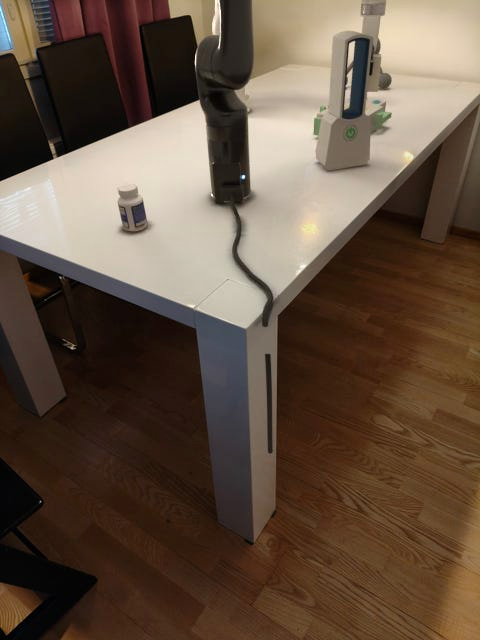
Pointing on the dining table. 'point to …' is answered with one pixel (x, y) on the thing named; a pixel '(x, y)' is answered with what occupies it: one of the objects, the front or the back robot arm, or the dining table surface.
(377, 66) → the brick
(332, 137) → the electronic device
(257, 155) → the dining table surface
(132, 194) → the pill bottle
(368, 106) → the decorative block
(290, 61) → the dining table surface
